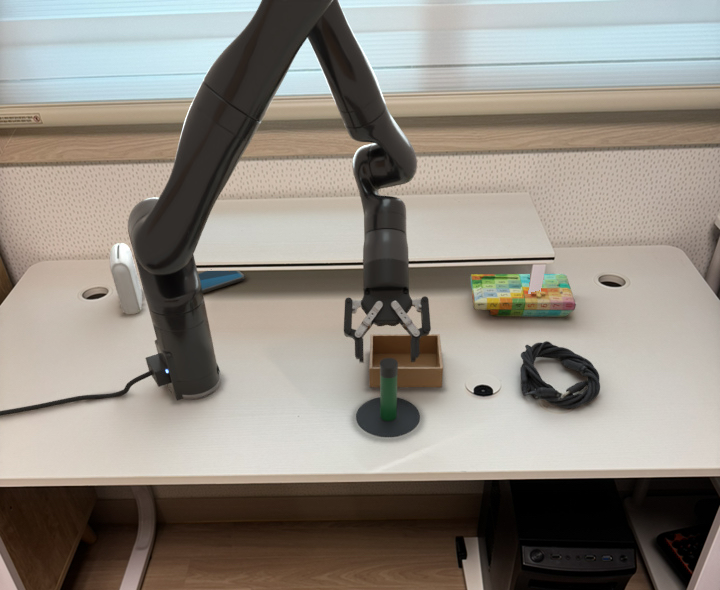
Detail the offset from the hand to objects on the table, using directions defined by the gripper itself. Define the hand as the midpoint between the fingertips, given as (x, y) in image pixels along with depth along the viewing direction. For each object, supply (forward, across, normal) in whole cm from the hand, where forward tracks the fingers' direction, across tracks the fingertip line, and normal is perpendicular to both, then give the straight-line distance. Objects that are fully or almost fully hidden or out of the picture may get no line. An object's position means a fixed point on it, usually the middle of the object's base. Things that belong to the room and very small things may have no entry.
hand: (387, 361), depth 114 cm
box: (-1, +4, +15) cm, 15 cm away
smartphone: (-25, -38, +39) cm, 60 cm away
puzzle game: (-17, +29, +31) cm, 45 cm away
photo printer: (-20, -54, +34) cm, 66 cm away
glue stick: (+8, 0, +5) cm, 10 cm away
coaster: (+9, 0, +5) cm, 10 cm away
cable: (+2, +31, +12) cm, 34 cm away
